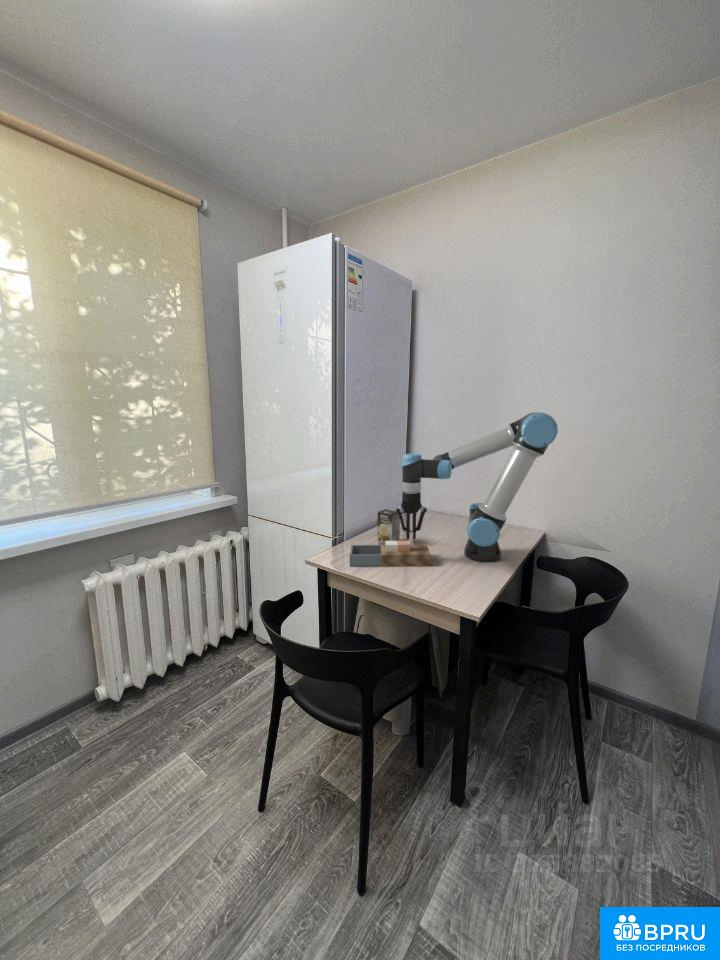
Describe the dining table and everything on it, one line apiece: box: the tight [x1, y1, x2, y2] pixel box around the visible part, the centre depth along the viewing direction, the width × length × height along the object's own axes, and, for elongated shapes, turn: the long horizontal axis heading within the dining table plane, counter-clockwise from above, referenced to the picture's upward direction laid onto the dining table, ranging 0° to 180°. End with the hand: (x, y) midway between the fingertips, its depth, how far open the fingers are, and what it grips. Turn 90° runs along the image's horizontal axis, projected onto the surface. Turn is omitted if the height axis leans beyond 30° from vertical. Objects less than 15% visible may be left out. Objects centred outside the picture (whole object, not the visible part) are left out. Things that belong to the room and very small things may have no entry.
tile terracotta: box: [397, 540, 410, 552], centre depth 162 cm, size 5×5×3 cm
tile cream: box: [385, 541, 398, 552], centre depth 162 cm, size 5×5×3 cm
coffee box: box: [377, 508, 401, 545], centre depth 182 cm, size 9×6×16 cm
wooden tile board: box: [381, 543, 432, 567], centre depth 163 cm, size 20×12×5 cm, turn 88°
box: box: [349, 544, 381, 568], centre depth 164 cm, size 13×12×5 cm
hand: (410, 546), depth 162 cm, fingers closed
